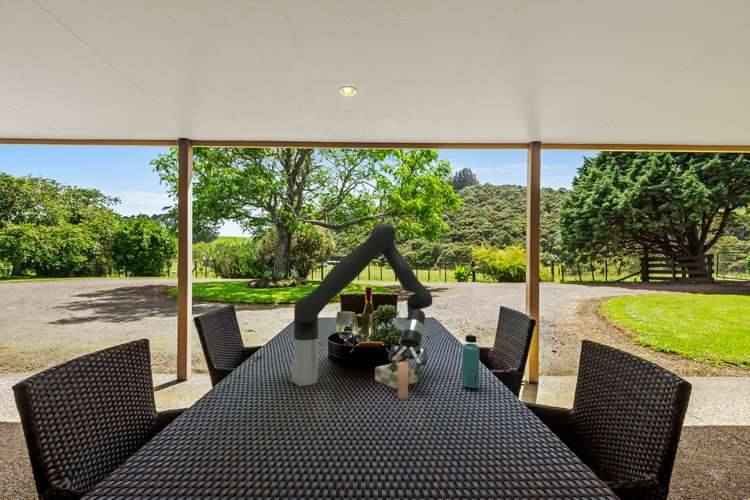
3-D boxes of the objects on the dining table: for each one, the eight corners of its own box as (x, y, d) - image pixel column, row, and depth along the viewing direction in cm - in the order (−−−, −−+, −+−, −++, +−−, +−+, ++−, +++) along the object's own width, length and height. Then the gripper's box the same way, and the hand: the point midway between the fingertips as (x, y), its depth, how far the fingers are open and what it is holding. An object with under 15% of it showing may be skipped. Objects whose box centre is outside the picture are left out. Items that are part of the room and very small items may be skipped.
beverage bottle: (475, 393, 136) (476, 338, 136) (458, 388, 140) (459, 335, 140) (482, 388, 141) (482, 335, 141) (465, 383, 145) (466, 332, 145)
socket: (395, 388, 139) (395, 375, 139) (375, 379, 148) (375, 367, 148) (417, 381, 146) (417, 368, 146) (397, 373, 156) (397, 361, 156)
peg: (402, 399, 129) (403, 365, 129) (395, 396, 132) (396, 362, 132) (409, 397, 131) (410, 363, 131) (402, 394, 134) (403, 360, 134)
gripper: (393, 327, 143) (383, 365, 133) (429, 330, 139) (422, 370, 128) (396, 337, 148) (387, 375, 138) (432, 341, 144) (425, 380, 133)
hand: (404, 373), depth 133 cm, fingers open, 8 cm apart
